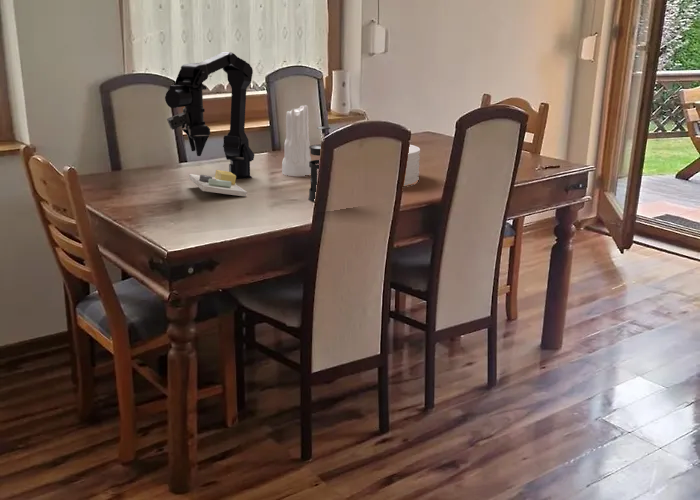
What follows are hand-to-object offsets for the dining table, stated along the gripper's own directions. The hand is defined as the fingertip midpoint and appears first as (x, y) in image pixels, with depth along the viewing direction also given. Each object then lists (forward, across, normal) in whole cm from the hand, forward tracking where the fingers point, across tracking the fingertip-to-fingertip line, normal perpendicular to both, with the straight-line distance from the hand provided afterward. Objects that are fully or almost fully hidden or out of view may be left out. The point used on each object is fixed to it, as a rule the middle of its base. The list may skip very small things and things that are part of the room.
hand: (196, 153), depth 253 cm
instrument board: (+10, +5, +5) cm, 13 cm away
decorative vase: (+12, -15, +39) cm, 44 cm away
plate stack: (+13, +3, +64) cm, 65 cm away
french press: (+12, +26, +35) cm, 45 cm away
